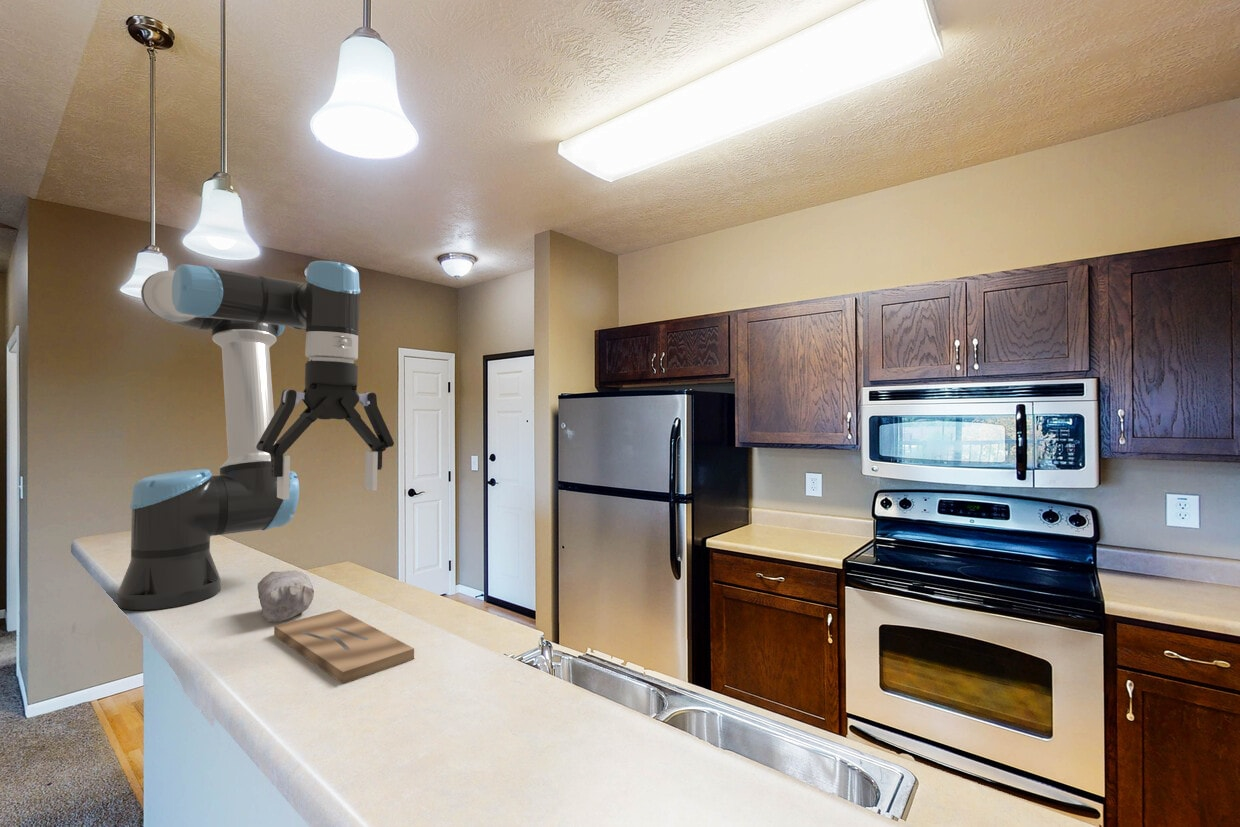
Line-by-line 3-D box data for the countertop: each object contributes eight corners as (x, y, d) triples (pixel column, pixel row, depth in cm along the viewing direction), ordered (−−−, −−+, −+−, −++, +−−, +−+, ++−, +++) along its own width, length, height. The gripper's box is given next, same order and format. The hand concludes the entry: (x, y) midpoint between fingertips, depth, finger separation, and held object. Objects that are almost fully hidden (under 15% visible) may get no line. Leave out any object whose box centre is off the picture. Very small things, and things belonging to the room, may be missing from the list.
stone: (262, 629, 92) (263, 586, 92) (256, 608, 102) (257, 569, 102) (318, 620, 97) (319, 579, 97) (307, 600, 106) (308, 563, 106)
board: (274, 635, 90) (274, 625, 90) (339, 618, 97) (339, 609, 97) (342, 683, 74) (343, 671, 74) (414, 658, 82) (414, 648, 82)
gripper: (251, 353, 79) (248, 505, 80) (416, 366, 98) (413, 488, 99) (233, 355, 84) (231, 499, 84) (393, 367, 103) (391, 484, 104)
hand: (329, 493), depth 92 cm, fingers open, 13 cm apart
